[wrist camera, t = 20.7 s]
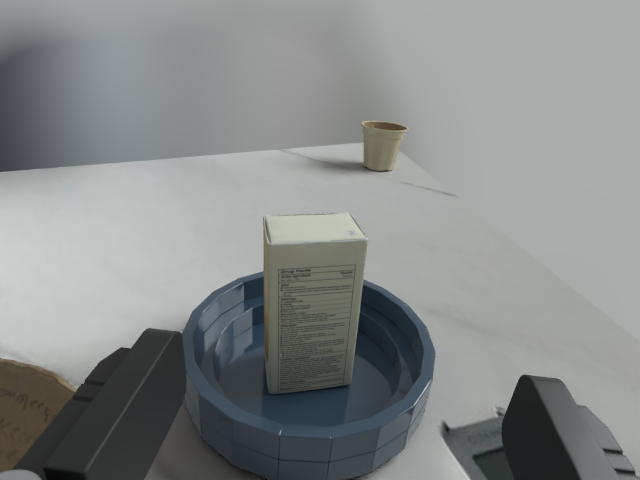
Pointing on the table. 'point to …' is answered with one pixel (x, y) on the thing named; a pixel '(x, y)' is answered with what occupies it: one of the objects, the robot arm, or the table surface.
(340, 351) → the cosmetic box
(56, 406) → the bowl
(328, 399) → the serving bowl
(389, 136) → the flower pot
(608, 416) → the table surface
